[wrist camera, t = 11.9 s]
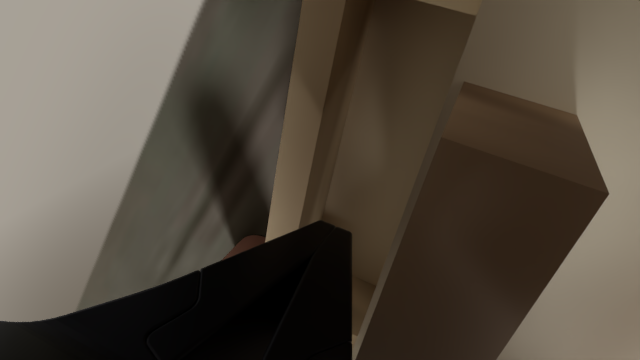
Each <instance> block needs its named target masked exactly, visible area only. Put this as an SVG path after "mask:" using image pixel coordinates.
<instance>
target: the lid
mask: <svg viewBox="0 0 640 360" xmlns="http://www.w3.org/2000/svg"><path fill="white" fill-rule="evenodd" d="M352 360H640V0H482V3H481V5H480V8H479V11H478V13H477V16H476V19H475V22H474V24H473V27H472V30H471V32H470V35H469V38H468V40H467V43H466V46H465V48H464V51H463V54H462V57H461V59H460V62H459V65H458V67H457V70H456V73H455V75H454V78H453V81H452V84H451V86H450V89H449V92H448V94H447V97H446V100H445V102H444V105H443V108H442V110H441V113H440V116H439V119H438V121H437V124H436V127H435V129H434V132H433V135H432V137H431V140H430V143H429V145H428V148H427V151H426V154H425V156H424V159H423V162H422V164H421V167H420V170H419V172H418V175H417V178H416V180H415V183H414V186H413V189H412V191H411V194H410V197H409V199H408V202H407V205H406V207H405V210H404V213H403V216H402V218H401V221H400V224H399V226H398V229H397V232H396V234H395V237H394V240H393V242H392V245H391V248H390V251H389V253H388V256H387V259H386V261H385V264H384V267H383V269H382V272H381V275H380V277H379V280H378V283H377V286H376V288H375V291H374V294H373V296H372V299H371V302H370V304H369V307H368V310H367V313H366V315H365V318H364V321H363V323H362V326H361V329H360V331H359V334H358V337H357V339H356V342H355V345H354V348H353V350H352Z"/></svg>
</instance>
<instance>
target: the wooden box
mask: <svg viewBox="0 0 640 360" xmlns="http://www.w3.org/2000/svg"><path fill="white" fill-rule="evenodd" d="M481 3H482V0H303V1H302V8H301V14H300V20H299V27H298V33H297V40H296V46H295V53H294V59H293V66H292V72H291V78H290V85H289V91H288V98H287V104H286V111H285V117H284V124H283V130H282V136H281V143H280V149H279V156H278V162H277V169H276V175H275V181H274V188H273V194H272V201H271V207H270V214H269V220H268V227H267V233H266V239H265V242H267V241H270V240H272V239H275V238H277V237H280V236H282V235H284V234H287V233H289V232H292V231H294V230H297V229H299V228H301V227H304V226H306V225H309V224H311V223H314V222H316V221H319V220H323V221H325V222H328V223H330V224H333V225H335V226H336V227H340V228H343V229H345V230H348V231H350V232H351V233H352V350H353V348H354V345H355V342H356V339H357V337H358V334H359V331H360V329H361V326H362V323H363V321H364V318H365V315H366V313H367V310H368V307H369V304H370V302H371V299H372V296H373V294H374V291H375V288H376V286H377V283H378V280H379V277H380V275H381V272H382V269H383V267H384V264H385V261H386V259H387V256H388V253H389V251H390V248H391V245H392V242H393V240H394V237H395V234H396V232H397V229H398V226H399V224H400V221H401V218H402V216H403V213H404V210H405V207H406V205H407V202H408V199H409V197H410V194H411V191H412V189H413V186H414V183H415V180H416V178H417V175H418V172H419V170H420V167H421V164H422V162H423V159H424V156H425V154H426V151H427V148H428V145H429V143H430V140H431V137H432V135H433V132H434V129H435V127H436V124H437V121H438V119H439V116H440V113H441V110H442V108H443V105H444V102H445V100H446V97H447V94H448V92H449V89H450V86H451V84H452V81H453V78H454V75H455V73H456V70H457V67H458V65H459V62H460V59H461V57H462V54H463V51H464V48H465V46H466V43H467V40H468V38H469V35H470V32H471V30H472V27H473V24H474V22H475V19H476V16H477V13H478V11H479V8H480V5H481Z"/></svg>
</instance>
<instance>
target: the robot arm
mask: <svg viewBox="0 0 640 360" xmlns="http://www.w3.org/2000/svg"><path fill="white" fill-rule="evenodd" d="M0 360H352V233H351V232H350V231H348V230H345V229H343V228H340V227H336V226H335V225H333V224H330V223H328V222H325V221H323V220H319V221H316V222H314V223H311V224H309V225H306V226H304V227H301V228H299V229H297V230H294V231H292V232H289V233H287V234H284V235H282V236H280V237H277V238H275V239H272V240H270V241H267V242H265V243H263V244H260V245H258V246H255V247H253V248H250V249H248V250H246V251H243V252H241V253H238V254H236V255H234V256H231V257H229V258H226V259H224V260H221V261H219V262H217V263H214V264H212V265H209V266H207V267H204V268H202V269H201V270H200V271H199V270H197V271H194V272H192V273H190V274H187V275H185V276H182V277H180V278H177V279H174V280H172V281H169V282H167V283H164V284H161V285H159V286H156V287H153V288H150V289H147V290H144V291H141V292H138V293H135V294H132V295H128V296H125V297H122V298H119V299H115V300H112V301H109V302H106V303H102V304H99V305H96V306H93V307H90V308H86V309H83V310H80V311H77V312H73V313H70V314H67V315H64V316H60V317H56V318H52V319H47V320H42V321H34V322H6V321H0Z"/></svg>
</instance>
